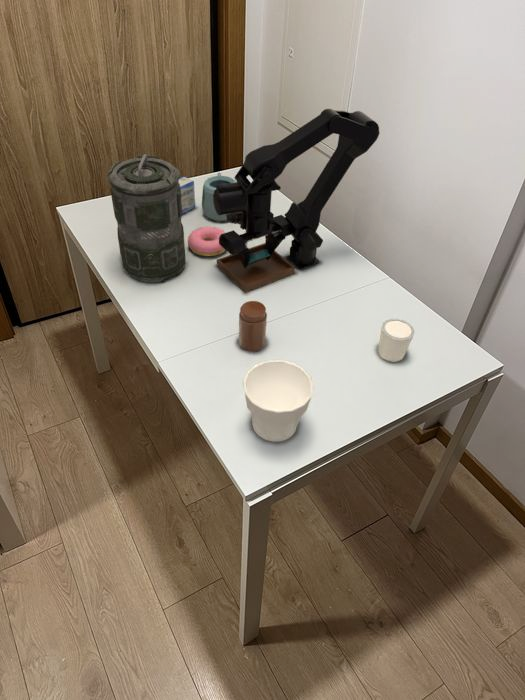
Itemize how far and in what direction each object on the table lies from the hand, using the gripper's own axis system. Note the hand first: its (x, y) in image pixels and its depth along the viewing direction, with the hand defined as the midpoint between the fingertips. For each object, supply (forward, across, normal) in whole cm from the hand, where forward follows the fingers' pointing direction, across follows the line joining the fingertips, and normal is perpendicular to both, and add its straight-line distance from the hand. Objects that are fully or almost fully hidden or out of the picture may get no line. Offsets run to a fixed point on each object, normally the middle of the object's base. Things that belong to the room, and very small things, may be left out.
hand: (256, 262), depth 135 cm
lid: (-2, 0, 0) cm, 2 cm away
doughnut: (+2, +5, -15) cm, 16 cm away
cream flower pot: (+2, +25, +43) cm, 50 cm away
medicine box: (+2, +2, -36) cm, 36 cm away
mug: (+2, -8, -30) cm, 31 cm away
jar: (+2, +16, +22) cm, 27 cm away
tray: (+2, 0, 0) cm, 2 cm away
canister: (+2, +21, -15) cm, 26 cm away
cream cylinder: (+2, -8, +41) cm, 42 cm away
